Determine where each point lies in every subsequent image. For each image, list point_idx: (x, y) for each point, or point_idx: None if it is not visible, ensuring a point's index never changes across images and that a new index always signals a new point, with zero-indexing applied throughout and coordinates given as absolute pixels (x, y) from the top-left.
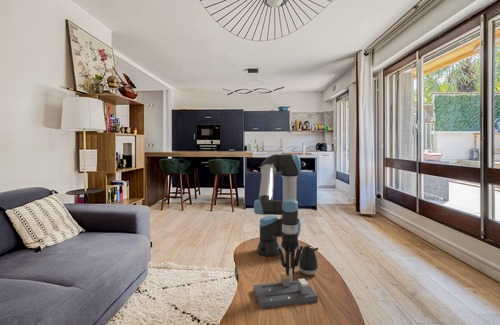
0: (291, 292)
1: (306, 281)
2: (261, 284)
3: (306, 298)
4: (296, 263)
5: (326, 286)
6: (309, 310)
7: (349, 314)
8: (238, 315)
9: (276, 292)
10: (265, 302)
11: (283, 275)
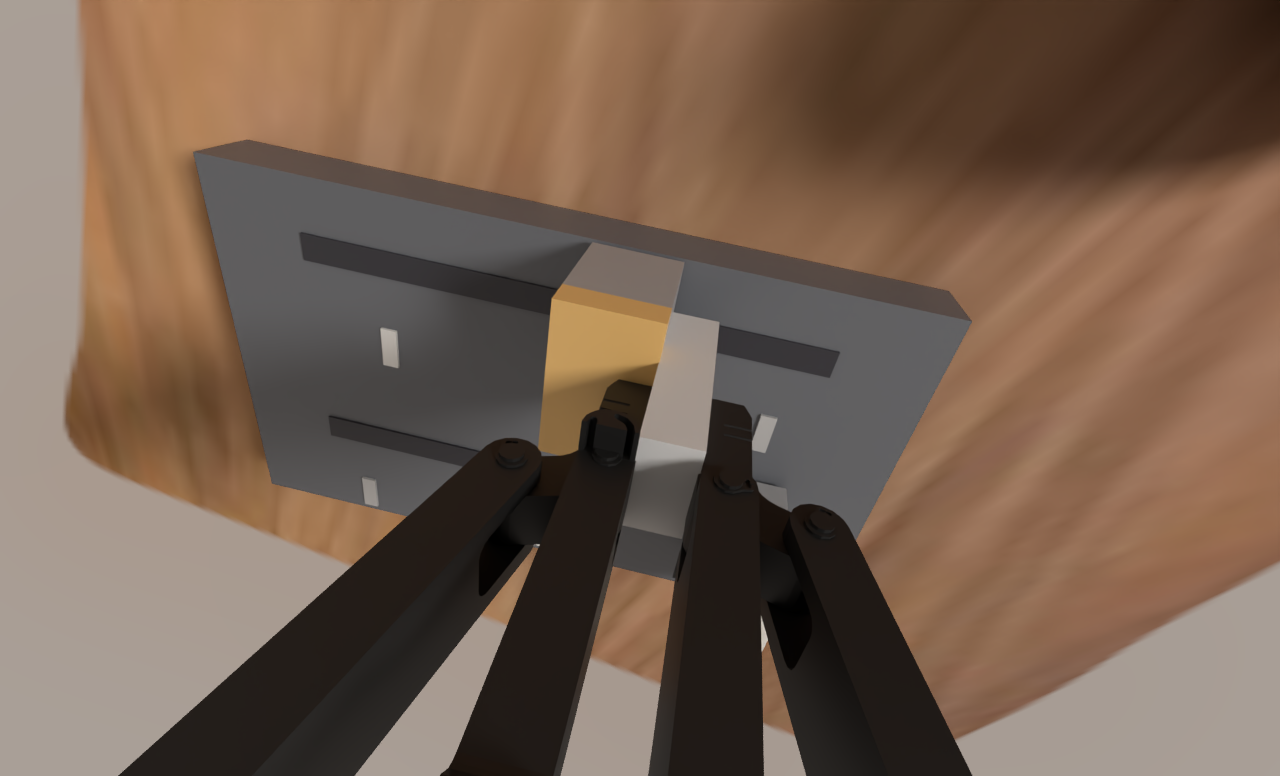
0: None
1: (764, 638)
2: (308, 178)
3: None
4: (777, 634)
5: (1169, 437)
6: (663, 609)
7: None
8: (139, 447)
9: (453, 415)
10: (316, 491)
11: (551, 402)
